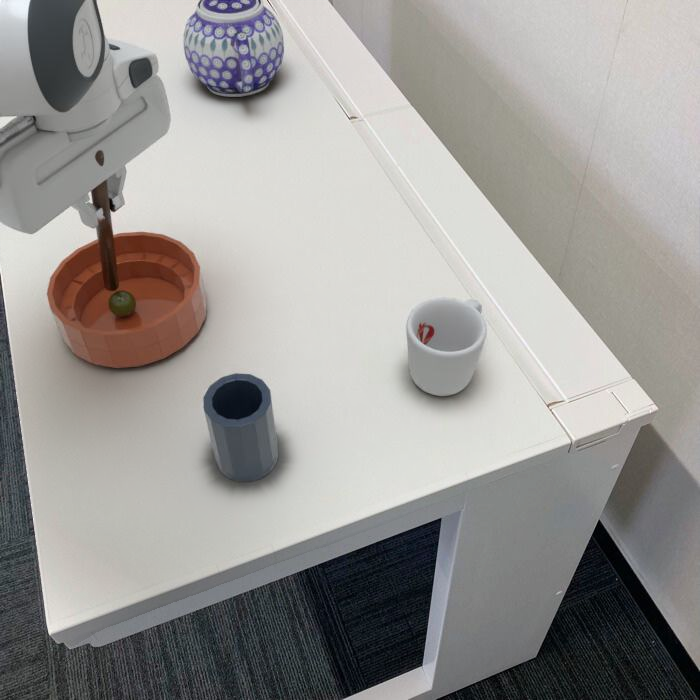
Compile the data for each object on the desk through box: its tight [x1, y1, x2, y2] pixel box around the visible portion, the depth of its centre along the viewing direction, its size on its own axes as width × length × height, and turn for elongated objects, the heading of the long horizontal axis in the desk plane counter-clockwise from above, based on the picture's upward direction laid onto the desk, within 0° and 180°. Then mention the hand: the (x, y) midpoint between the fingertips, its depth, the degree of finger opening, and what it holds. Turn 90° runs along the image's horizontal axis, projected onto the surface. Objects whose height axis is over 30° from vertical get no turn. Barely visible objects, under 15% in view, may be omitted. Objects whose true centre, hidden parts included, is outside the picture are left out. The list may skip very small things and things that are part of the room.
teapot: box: [183, 0, 285, 98], centre depth 118 cm, size 25×15×15 cm, turn 12°
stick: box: [90, 150, 119, 291], centre depth 78 cm, size 2×2×20 cm
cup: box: [405, 297, 488, 397], centre depth 80 cm, size 11×8×8 cm
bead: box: [108, 290, 136, 317], centre depth 86 cm, size 3×3×3 cm
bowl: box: [46, 231, 208, 369], centre depth 86 cm, size 16×16×6 cm
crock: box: [202, 372, 279, 483], centre depth 72 cm, size 6×6×9 cm
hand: (104, 214), depth 77 cm, fingers closed on stick, 1 cm apart
